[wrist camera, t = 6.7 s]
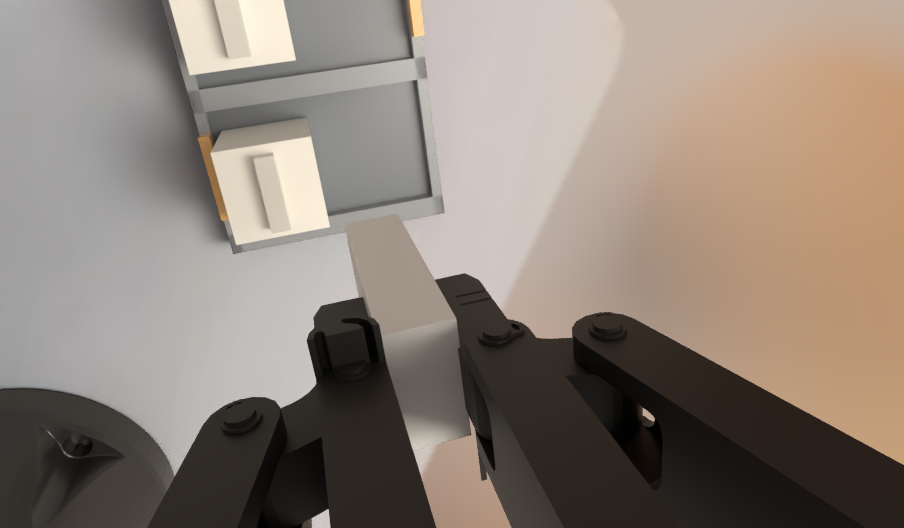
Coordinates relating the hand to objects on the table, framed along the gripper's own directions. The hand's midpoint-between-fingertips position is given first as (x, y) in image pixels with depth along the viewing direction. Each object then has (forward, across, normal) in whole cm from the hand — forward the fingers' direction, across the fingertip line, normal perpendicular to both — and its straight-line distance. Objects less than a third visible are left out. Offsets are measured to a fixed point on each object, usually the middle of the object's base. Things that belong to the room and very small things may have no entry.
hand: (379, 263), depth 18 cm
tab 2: (+15, -3, 0) cm, 15 cm away
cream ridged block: (+15, -3, +7) cm, 17 cm away
